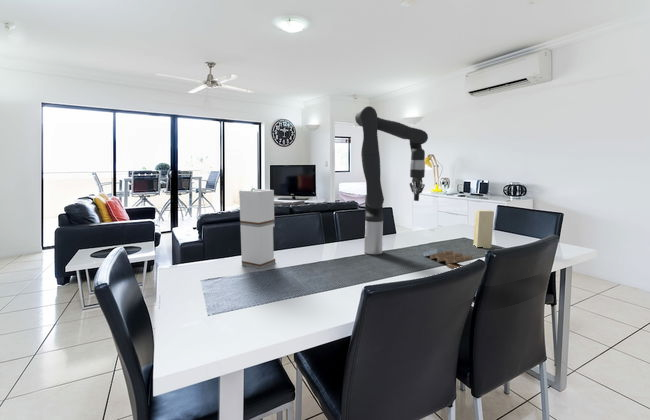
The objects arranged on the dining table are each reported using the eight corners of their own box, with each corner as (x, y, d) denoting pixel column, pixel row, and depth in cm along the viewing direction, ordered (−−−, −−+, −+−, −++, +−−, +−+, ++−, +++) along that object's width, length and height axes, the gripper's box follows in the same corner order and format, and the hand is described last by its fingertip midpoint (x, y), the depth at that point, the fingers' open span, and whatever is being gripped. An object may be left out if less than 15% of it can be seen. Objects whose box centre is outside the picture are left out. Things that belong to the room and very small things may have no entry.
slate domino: (423, 252, 175) (436, 249, 165) (431, 251, 177) (444, 248, 167) (424, 256, 174) (437, 253, 164) (432, 255, 176) (445, 252, 166)
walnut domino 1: (429, 255, 169) (444, 251, 160) (437, 254, 172) (452, 250, 162) (430, 259, 169) (445, 255, 159) (438, 258, 171) (453, 254, 161)
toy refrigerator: (486, 245, 198) (489, 209, 195) (491, 248, 191) (494, 211, 188) (472, 245, 199) (474, 209, 196) (477, 248, 191) (479, 211, 189)
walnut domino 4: (447, 263, 157) (463, 271, 146) (456, 262, 158) (473, 269, 148) (446, 268, 157) (463, 275, 146) (455, 267, 158) (472, 274, 148)
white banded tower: (275, 263, 163) (273, 190, 158) (260, 268, 154) (258, 191, 149) (257, 259, 169) (255, 189, 164) (241, 265, 160) (239, 190, 155)
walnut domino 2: (436, 257, 164) (454, 253, 154) (444, 257, 166) (461, 252, 157) (437, 261, 163) (455, 257, 154) (445, 261, 166) (462, 257, 156)
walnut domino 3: (445, 260, 159) (464, 255, 150) (452, 259, 161) (471, 255, 152) (446, 264, 158) (465, 260, 149) (453, 263, 161) (472, 259, 152)
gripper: (405, 168, 189) (404, 199, 191) (417, 169, 176) (416, 202, 179) (417, 168, 191) (416, 199, 193) (430, 168, 178) (428, 201, 180)
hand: (416, 200), depth 186 cm, fingers closed
